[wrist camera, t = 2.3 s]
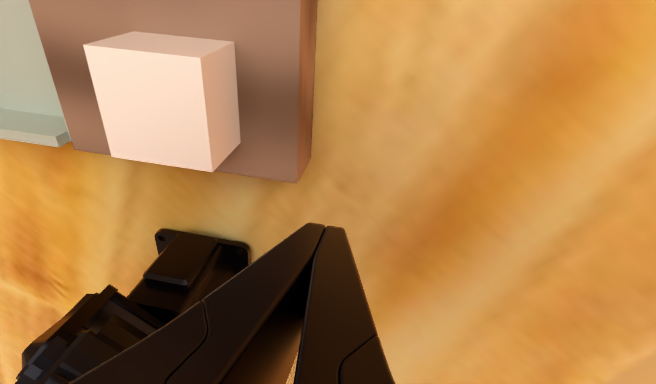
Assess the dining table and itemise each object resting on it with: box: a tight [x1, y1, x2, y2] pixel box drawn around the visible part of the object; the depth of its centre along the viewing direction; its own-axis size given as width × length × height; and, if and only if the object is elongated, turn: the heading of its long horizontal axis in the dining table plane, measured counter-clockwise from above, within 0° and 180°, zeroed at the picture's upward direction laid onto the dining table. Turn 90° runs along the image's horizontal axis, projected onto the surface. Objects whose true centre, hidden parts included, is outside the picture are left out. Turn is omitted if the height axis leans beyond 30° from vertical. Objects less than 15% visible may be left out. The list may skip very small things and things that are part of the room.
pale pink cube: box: [83, 31, 241, 172], centre depth 16 cm, size 4×4×3 cm
